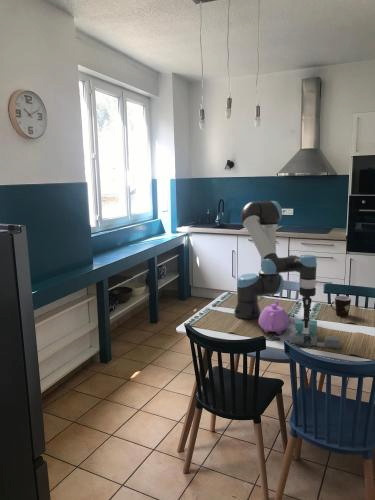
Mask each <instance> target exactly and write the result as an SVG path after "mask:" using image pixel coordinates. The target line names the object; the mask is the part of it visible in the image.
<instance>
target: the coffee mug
mask: <svg viewBox="0 0 375 500" xmlns="http://www.w3.org/2000/svg"><path fill="white" fill-rule="evenodd" d="M351 302H352V298H351V297H349V296H345V295H337V296H334V301H332V302H331V303H330V308H331V309H332V310H334V311H335V315H336V316H337V317H339V316H340V318H347V317H349V313H350V308H351ZM334 303H335V304H334ZM333 305H334V306H335V308H334V307H333Z"/></svg>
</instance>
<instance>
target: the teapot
mask: <svg viewBox="0 0 375 500" xmlns="http://www.w3.org/2000/svg"><path fill="white" fill-rule="evenodd" d="M258 325H259V326H260V328H262V329H263V333H264V332H265V334H268V333H270V332H275V333H276V334H277V335H282V334H283V332H284V331H286V329H288V328H289V326H290V318H289V316H288V313H287V312H286V310H285V309H284V307H282V306H280V305H279V299H278V298H274V302H273V303H271V305H267V306H265V307H264V308H263V310H262V311H261V314H260V317H259V318H258Z"/></svg>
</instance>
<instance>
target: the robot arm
mask: <svg viewBox="0 0 375 500" xmlns="http://www.w3.org/2000/svg"><path fill="white" fill-rule="evenodd" d="M282 217H283V210H282V207H281V204H280V203H279V202H278V201H275V200H258V201H249V202H248V203H246V204H245V205H244V206H243V208H242V210H241V212H240V221H241V225H242V226H243V228H245V229H247V232H248V235H249V236H250V237H251V239H252V242H253V243H254V246H255V247H256V249H257V251H258V253H259V256H260V270H259V271H258V274H257V273H245V274H241V275H239V276H238V277H237V282H236V289H237V290H236V291H237V293H236V294H237V296H236V297H237V300H236V301H237V302H236V303H235V307H234V311H233V314H234V316H235V317H236V316H237V317H236V318H238V317H239V319H241V318H245V319H244V320H255V319H259V317H260V314H261V313H262V311H261V308H260V305H259V297H265V296H274V295H278V294H280V293H281V292H283V291H282V290H283V289H284V278H283V276H282V274H281V273H292V272H293V273H294V272H296V273H299V290H298V292H299V295H300V296H303V298H302V307H303V318H302V321H303V332H302V334H304V335H310V332H309V320H311V312H312V309H311V306H312V299H313V298H311V297H314V296H316V292H317V288H316V286H317V285H316V284H317V283H318V280H317V265H318V263H317V257H316V256H315V255H313V254H301V255H300V256H298V255H293V254H290V255H287V257H279V256H278V255H277V239H276V238H277V237H276V231H277V230H276V227H277V226H278V225H279V221H281V220H282Z"/></svg>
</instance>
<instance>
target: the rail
mask: <svg viewBox="0 0 375 500" xmlns="http://www.w3.org/2000/svg"><path fill="white" fill-rule="evenodd" d="M340 341H341V340H340V337H339V336H329V335H324V342H318V335H317V334H314V335H311V338H310V341H309V340H305V334H303V333H302V334H300V333H297V332H290V333H289V343H290V342H291V343H292V344H291V345H297V346H299V345H300V346H309V347H318V348H325V349H335V350H339V349H340V344H341V343H340Z"/></svg>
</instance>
